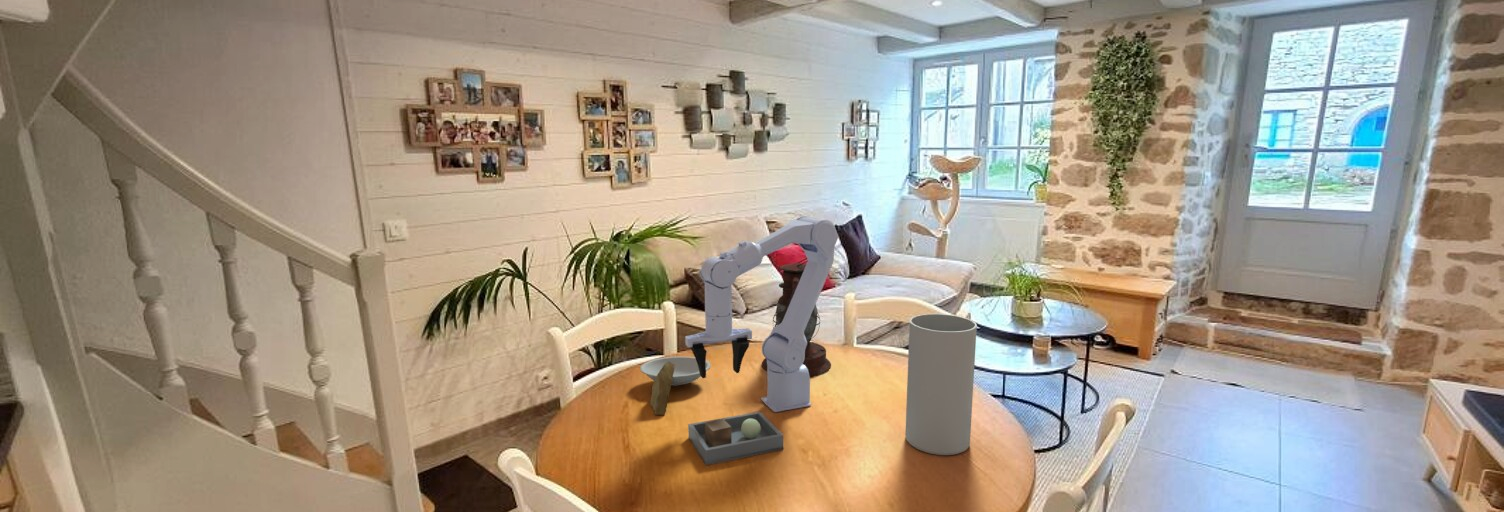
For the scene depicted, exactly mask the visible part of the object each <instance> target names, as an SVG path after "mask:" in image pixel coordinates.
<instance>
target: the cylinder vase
mask: <svg viewBox="0 0 1504 512" xmlns="http://www.w3.org/2000/svg"><path fill="white" fill-rule="evenodd" d="M977 328H978V327H977V323H976V322H975V321H973V320H972V319H970V318H967V317H963V316H960V315H959V316H958V315H956V314H955V315H953V314H944V313H924V314H919V315H915V316H912V317H910V319H909V328H908V353H907V354H908V356H907V359H908V360H907V378H906V379H907V382H906V408H905V431H904V432H905V439H906V441H907V442H908V443H909V445H911V446H912V448H915V449H917V450H919V451H921V452H924V453H926V454H927V453H928V454H931V455H936V456H953V455H958V454H961V453H963V452H965V451H966V450H968V448H969V447H970V445H971V435H972V434H971V433H972V432H971V429H972V416H973V415H972V413H973V396H974V381H975V379H974V378H975V363H976V361H975V360H976V344H977V343H976V342H977Z"/></svg>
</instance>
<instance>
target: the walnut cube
mask: <svg viewBox="0 0 1504 512" xmlns="http://www.w3.org/2000/svg"><path fill="white" fill-rule="evenodd" d="M720 419H721V418H720ZM705 442H706V443H707V444H708V445H709V446H710V447H716V446H721V445H726V444H731V443H732V437H731V426H730V425H729V424H728V423H727V422H726V421H725V420H724V419H721V420H716V421H711V422H707V423H705Z"/></svg>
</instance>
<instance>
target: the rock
mask: <svg viewBox="0 0 1504 512" xmlns="http://www.w3.org/2000/svg"><path fill="white" fill-rule="evenodd" d="M674 368H675V365H674V364H672V363H671V362H667V363H666V364H664V365H663V367H662V369H661V370H660V371H659V373H658V375H657V376H656V380H655V381H654V380H653V383H652V386H651V396H650V401H649V403H650V406H651V408H652V410H653V411H654V412H653V413H654V415H655V416H656V415H659V416H665V415H666V412H667V408H668V403H669V399H670V392H671V391H670V390H671V387H672V385H671V383H672V378H673V373H674Z"/></svg>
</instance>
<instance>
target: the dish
mask: <svg viewBox="0 0 1504 512" xmlns="http://www.w3.org/2000/svg"><path fill="white" fill-rule="evenodd" d="M667 362H671V363H672V364H674V365H675V368H674V373H673V378H672V383H671V386H673V387H678V386H681V385H687V384H689V383H692V382H694V381H696V380H698V379H699V378H701V376H700V372H699V367H698V364H697V361H696V358H695V356H667V357H660V358H655V359H652V360H648V361H647V362H646V361H645V362H644V363H643V364H641V366H640V368H639V369H640V372H641V373H643V374H645V375H646V376H647V377H648V378H649V379H650V380H653V382H654V381H655V380H656V376H657V375H658V373H659V371H660V370H661V369H662V367H663V365H664V364H666V363H667ZM705 365H706V372H707V371H709V370H710V369H711V367H712V364H711V363H710V361H708V360H706V363H705Z"/></svg>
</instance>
